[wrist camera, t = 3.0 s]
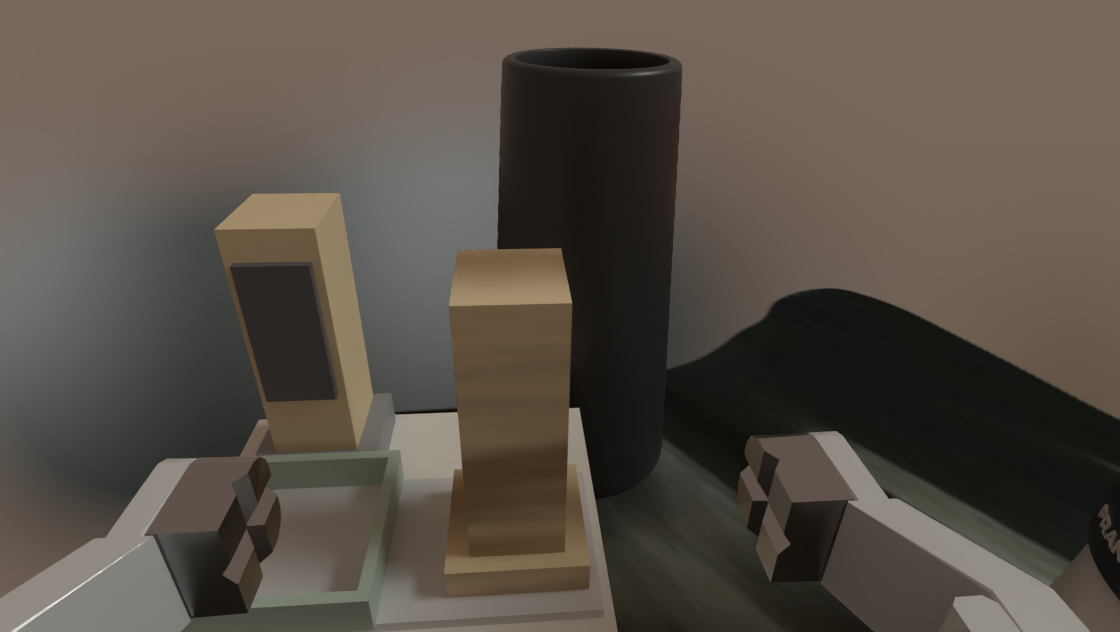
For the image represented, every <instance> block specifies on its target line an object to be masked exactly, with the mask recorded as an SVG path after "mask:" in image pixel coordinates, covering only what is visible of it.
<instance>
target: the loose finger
mask: <svg viewBox="0 0 1120 632" xmlns="http://www.w3.org/2000/svg"><path fill="white" fill-rule="evenodd" d="M449 314H450V327H451V337H452V338H451V339H452V350H453V361H454V375H455V385H456V399H457V411H458V423H459V435H460V447H461V459H462V469H455V470H454V476H453V486H452V496H451V507H450V517H449V528H448V538H447V548H446V559H445V569H444V578H445V587H446V595H447V598H453V597H469V596H486V595H502V594H519V593H535V592H552V591H568V590H585V589H589V581H590V559H589V553H588V546H587V539H586V532H585V525H584V518H583V511H582V505H581V498H580V491H579V484H578V477H577V470H576V464H567V462H568V428H569V395H570V361H571V327H572V300H571V295H570V290H569V285H568V280H567V275H566V270H565V265H564V261H563V256H562V251H561V248H549V249H493V250H492V249H491V250H458V252H457V257H456V264H455V270H454V276H453V283H452V289H451V295H450V303H449Z"/></svg>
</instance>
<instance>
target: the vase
mask: <svg viewBox="0 0 1120 632" xmlns="http://www.w3.org/2000/svg"><path fill="white" fill-rule="evenodd" d="M681 83H682V64H681V63H680V62H679V61H678V60H677V59H675V58H672V57H670V56H667V55H662V54H657V53H651V52H644V51H636V50H625V49H609V48H548V49H536V50H527V51H521V52H516V53H513V54H511V55H508V56H506V57H505V58H504V60H503V62H502V83H501V110H500V113H501V114H500V116H501V125H500V151H499V155H500V164H499V203H498V241H497V247H498V249H549V248H561V251H562V256H563V261H564V265H565V270H566V275H567V280H568V285H569V290H570V295H571V300H572V327H571V361H570V395H569V408H579V409H580V415H581V421H582V427H583V433H584V438H585V444H586V450H587V456H588V462H589V467H590V473H591V479H592V485H593V491H594V497H595V498H601V497H606V496H611V495H614V494H617V493H620V492H623V491H625V490H627V489H629V488H631V487H633V486H635V485H636V484H638V483H639V482H641V481H642V480H643V479H644V478H645V477H646V476H648V475H649V473H650V472H651V471H652V470H653V468H654V467H655V465H656V464H657V461H658V459H659V456H660V453H661V445H662V429H663V414H664V399H665V384H666V380H665V377H666V361H667V344H668V329H669V323H668V322H669V304H670V287H671V270H672V252H673V235H674V217H675V198H676V181H677V162H678V143H679V123H680V103H681Z"/></svg>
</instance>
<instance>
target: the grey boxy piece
mask: <svg viewBox="0 0 1120 632" xmlns="http://www.w3.org/2000/svg"><path fill="white" fill-rule="evenodd" d="M214 231H215V234H216V238H217V242H218V246H219V249H220V253H221V256H222V260H223V263H224V267H225V271H226V274H227V278H228V281H229V284H230V288H231V292H232V296H233V299H234V303H235V307H236V310H237V314H238V317H239V321H240V325H241V328H242V332H243V335H244V339H245V342H246V346H247V350H248V353H249V357H250V361H251V364H252V368H253V371H254V375H255V378H256V382H257V386H258V389H259V393H260V396H261V400H262V404H263V407H264V411H265V414H266V418H267V419H266V420H259V421H258V423H257V425H256V426H255V429H254V430H253V432H252V434H251V436H250V438H249V440H248V442H247V443H246V445H245V447H244V449H243V451H242V453H241V455H240V456H239V457H262V458H264V459H266V460H267V463H268V466H269V469H270V472H271V476H270V479H269V481H268V483H267V485H266V486H267V487H268V488H269V489H271V490H272V491H273V492H275V493H276V494H277V496H278V499H279V503H280V509H281V524H280V531H279V537H278V540H277V543H276V545H275V548H274V551H273V553H272V554H270V555H269V556H268V557H267V558H266V559H264V560H263V561H262V562H261V563H260V567H261V570H262V573H263V578H262V581H261V583H260V586H259V588H258V591H257V593H256V595H255V598H254V600H253V603H252V605H251V608H250V610H249V613H245V614H233V615H222V616H210V617H199V618H190V619H191V622H190V623H189V624H188V625H187V626H186V627H185V628H184V629H183V630H182V631H181V632H618V630H617V624H616V618H615V613H614V607H613V601H612V595H611V589H610V584H609V578H608V572H607V566H606V560H605V555H604V549H603V543H602V537H601V531H600V526H599V520H598V514H597V508H596V502H595V497H594V491H593V485H592V479H591V473H590V467H589V462H588V456H587V450H586V444H585V438H584V433H583V427H582V421H581V415H580V409H579V408H569V428H568V462H567V464H576V470H577V477H578V484H579V491H580V498H581V505H582V511H583V518H584V525H585V532H586V539H587V546H588V553H589V559H590V581H589V589H585V590H568V591H552V592H535V593H519V594H502V595H486V596H469V597H453V598H447V595H446V587H445V578H444V569H445V559H446V548H447V538H448V528H449V517H450V507H451V496H452V486H453V476H454V470H455V469H462V459H461V447H460V435H459V423H458V412H453V413H427V414H400V415H395V411H394V405H393V398H392V393H373V391H372V386H371V379H370V374H369V367H368V361H367V355H366V349H365V343H364V337H363V331H362V326H361V319H360V313H359V307H358V301H357V295H356V289H355V282H354V276H353V271H352V264H351V259H350V252H349V246H348V241H347V234H346V228H345V222H344V216H343V210H342V204H341V198H340V194H339V193H312V194H311V193H309V194H307V193H304V194H252V195H251V196H250V197H249V198H248V199H247V200H246V201H245V202H244V203H243V204H241V205H240V206H239V207H238V208H237V209H236V210H235V211H234V212H233V213H232V214H231V215H229V217H227V218H226V219H225V220H224V221H223V222H222V223H221V224H220V225H219V226H218V227H216V228H215V230H214Z"/></svg>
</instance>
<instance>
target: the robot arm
mask: <svg viewBox="0 0 1120 632" xmlns="http://www.w3.org/2000/svg"><path fill="white" fill-rule="evenodd" d="M744 454H745V456H746V459H747V461H748V463H749V466H748V467H746V468H745V469H744V470H743V471H742V472H741V473H740V478H739V484H738V498H739V506H740V510H741V514H742V517H743V520H744V522H745V525H746V527H747V528H748V529H749V530H750V531H752V532H753V533H754V534H756V535H757V536H758V537H759V538H758V542H757V547H756V550H757V553H758V555H759V557H760V560H761V562H762V564H763V566H764V569H765V571H766V573H767V576H768V578H769V580H770V582H771V583H775V582H808V581H821V584H822V585H823V586H824V587H825V588H826V589H827V590H828V591H829V592H831V593H832V594H833V595H834V596H835V597H836V598H837V599H838V600H839V601H841V602H842V603H843V604H844V605H845V606H846V607H847V608H848V609H849V610H850V611H852V612H853V613H854V614H855V615H856V616H857V617H858V618H859V619H860V620H862V621H863V622H864V623H865V624H866V625H867V626H868V627H869V628H870V629H872V630H873V631H874V632H1120V478H1119V479H1118V481H1117V482H1116V484H1115V485H1114V486H1113V488H1112V489H1111V491H1110V492H1109V493H1108V495H1107V496H1106V498H1105V500H1104V501H1103V503H1102V504H1101V506H1100V507H1099V509H1098V510H1097V512H1096V513H1095V515H1094V516H1093V518H1092V520H1091V522H1090V524H1089V528H1088V543H1087V544H1086V546H1085V547H1084V548H1083V549H1082V550H1081V552H1080V553H1079V554H1078V555H1077V556H1076V558H1075V559H1074V560H1073V561H1072V562H1071V563H1070V565H1069V566H1068V567H1067V568H1066V569H1065V570H1064V571H1063V573H1062V574H1061V575H1060V576H1059V577H1058V578H1057V579H1056V580H1055V581H1054V582H1053V583H1052V584H1051V585H1050V586H1049V587H1048V586H1047V585H1045V584H1043V583H1041V582H1040V581H1038V580H1036V579H1035V578H1033V577H1031V576H1029V575H1028V574H1026V573H1024V572H1023V571H1021V570H1019V569H1017V568H1016V567H1014V566H1012V565H1010V564H1009V563H1007V562H1005V561H1004V560H1002V559H1000V558H998V557H997V556H995V555H993V554H992V553H990V552H988V551H986V550H985V549H983V548H981V547H980V546H978V545H976V544H974V543H973V542H971V541H969V540H968V539H966V538H964V537H962V536H961V535H959V534H957V533H955V532H954V531H952V530H950V529H949V528H947V527H945V526H943V525H942V524H940V523H938V522H937V521H935V520H933V519H931V518H930V517H928V516H926V515H925V514H923V513H921V512H919V511H918V510H916V509H914V508H913V507H911V506H909V505H907V504H906V503H904V502H902V501H900V500H899V499H888V497H887V496H886V495H885V493H884V492H883V490H882V489H881V488H880V486H879V485H878V484H877V482H876V481H875V480H874V478H873V477H872V475H871V474H870V473H869V471H868V470H867V469H866V467H865V466H864V464H863V463H862V462H861V460H860V459H859V458H858V456H857V455H856V454H855V452H854V451H853V449H852V448H851V447H850V445H849V444H848V443H847V441H846V440H845V438H844V437H843V436H842V435H841V434H839V433H838V432H836V431H832V432H815V433H807V434H787V435H766V436H751V437H750V438H749V440H748V442H747V444H746V449H745V453H744ZM270 476H271V472H270V469H269V466H268V463H267V460H266V459H264V458H262V457H210V458H209V457H208V458H198V459H196V458H195V459H194V458H189V459H166V460H164V461H162V462H160V463H159V464H157V466H156V467H155V468H154V470H153V471H152V473H151V474H150V475H149V477H148V478H147V480H146V481H145V482H144V484H143V485H142V487H141V488H140V490H139V491H138V492H137V494H136V495H135V496H134V498H133V499H132V501H131V502H130V503H129V505H128V506H127V508H126V509H125V510H124V512H123V513H122V515H121V516H120V517H119V519H118V520H117V522H116V523H115V525H114V526H113V527H112V529H111V530H110V532H109V533H108V534H107V536H106V537H105V538H95V539H93V540H91V541H90V542H88V543H87V544H85V545H83V546H82V547H80V548H79V549H77V550H75V551H74V552H72V553H71V554H69V555H68V556H66V557H65V558H63V559H61V560H60V561H58V562H57V563H55V564H53V565H52V566H50V567H49V568H47V569H45V570H44V571H42V572H41V573H39V574H38V575H36V576H34V577H33V578H31V579H30V580H28V581H26V582H25V583H24V584H22V585H20V586H19V587H17V588H15V589H14V590H12V591H11V592H9V593H8V594H6V595H4V596H3V597H1V598H0V632H181V631H182V630H183V629H184V628H185V627H186V626H187V625H188V624H189V623H190V622H191V619H190V618H199V617H210V616H222V615H233V614H245V613H249V610H250V608H251V605H252V603H253V600H254V598H255V595H256V593H257V591H258V588H259V586H260V583H261V581H262V578H263V573H262V570H261V567H260V563H261V562H262V561H263V560H264V559H266V558H267V557H268V556H269V555H270V554H272V553H273V551H274V548H275V545H276V543H277V540H278V537H279V531H280V524H281V509H280V503H279V499H278V496H277V494H276V493H275V492H273V491H272V490H271V489H269V488H268V487H267V486H266V485H267V483H268V481H269V479H270Z"/></svg>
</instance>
